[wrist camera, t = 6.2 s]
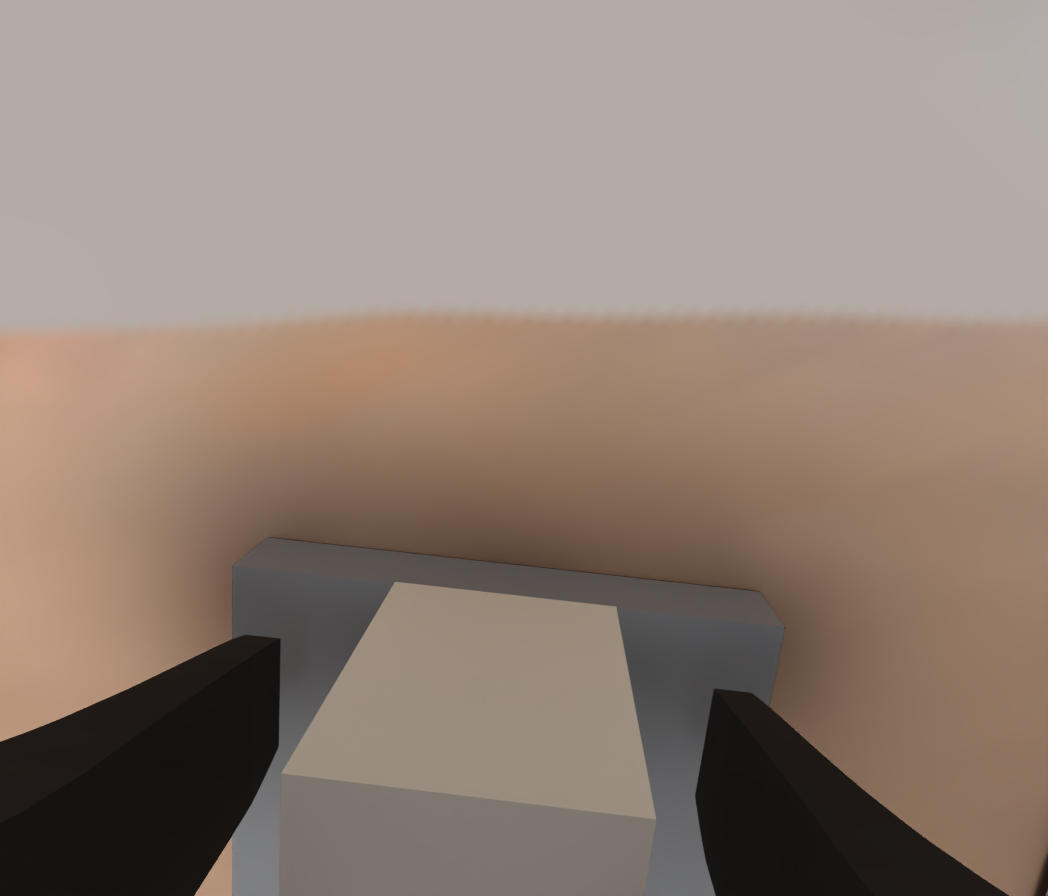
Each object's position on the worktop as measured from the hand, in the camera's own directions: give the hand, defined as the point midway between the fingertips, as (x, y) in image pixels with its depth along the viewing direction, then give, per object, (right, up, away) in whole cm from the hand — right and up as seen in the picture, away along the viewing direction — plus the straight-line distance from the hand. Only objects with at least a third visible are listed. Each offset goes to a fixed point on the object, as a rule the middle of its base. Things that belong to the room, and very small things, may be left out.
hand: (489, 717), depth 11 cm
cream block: (0, -4, +2) cm, 4 cm away
